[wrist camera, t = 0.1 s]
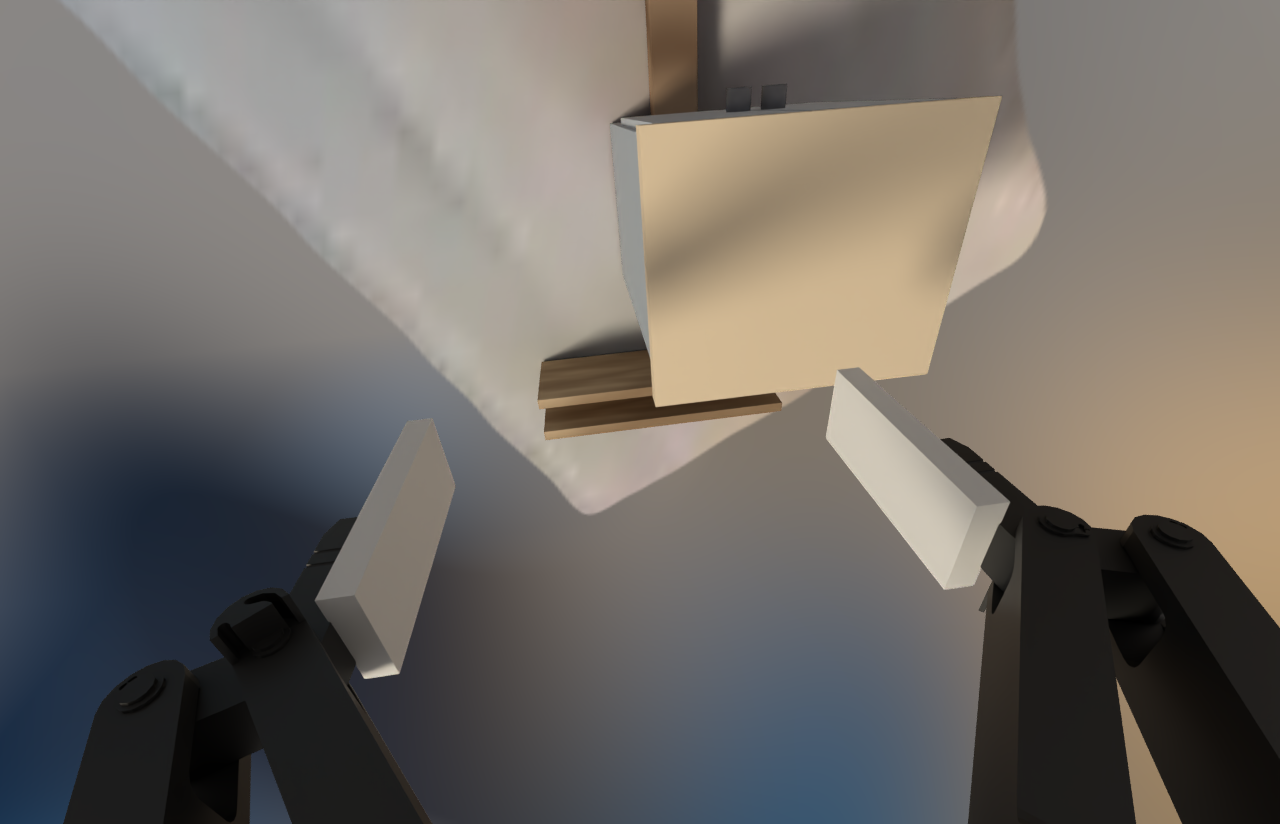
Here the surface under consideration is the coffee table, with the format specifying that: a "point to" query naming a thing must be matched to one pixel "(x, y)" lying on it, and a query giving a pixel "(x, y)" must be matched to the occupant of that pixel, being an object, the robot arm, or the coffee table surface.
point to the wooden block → (672, 55)
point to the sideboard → (794, 237)
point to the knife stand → (622, 397)
